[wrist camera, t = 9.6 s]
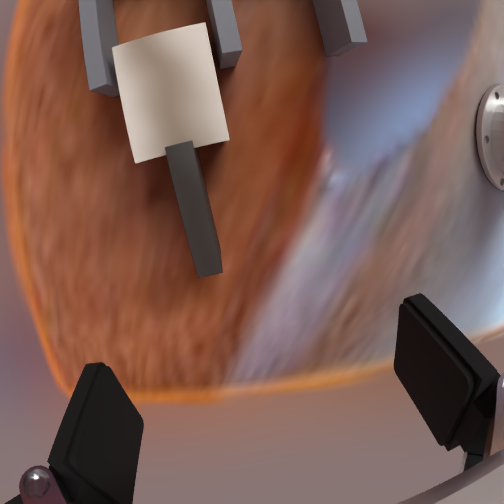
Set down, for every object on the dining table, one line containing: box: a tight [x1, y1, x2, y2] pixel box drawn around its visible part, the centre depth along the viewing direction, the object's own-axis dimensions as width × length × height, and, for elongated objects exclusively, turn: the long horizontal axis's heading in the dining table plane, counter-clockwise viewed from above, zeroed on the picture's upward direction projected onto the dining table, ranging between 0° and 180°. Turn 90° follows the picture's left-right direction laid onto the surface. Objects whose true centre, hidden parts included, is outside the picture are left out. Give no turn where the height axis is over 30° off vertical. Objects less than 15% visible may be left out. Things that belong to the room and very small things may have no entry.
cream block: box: [112, 22, 230, 278], centre depth 20 cm, size 6×16×6 cm, turn 11°
